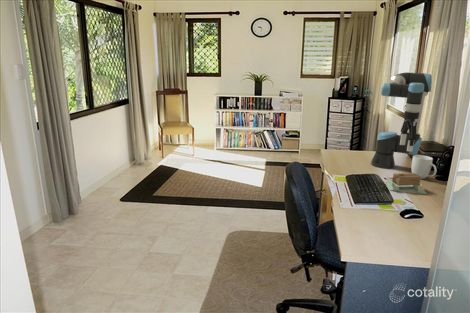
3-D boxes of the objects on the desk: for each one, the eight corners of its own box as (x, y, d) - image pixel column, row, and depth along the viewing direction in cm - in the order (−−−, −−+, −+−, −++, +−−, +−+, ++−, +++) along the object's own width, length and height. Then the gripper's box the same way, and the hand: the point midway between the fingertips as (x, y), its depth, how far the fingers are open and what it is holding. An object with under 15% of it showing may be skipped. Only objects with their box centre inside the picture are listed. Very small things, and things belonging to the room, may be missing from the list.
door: (392, 181, 201) (393, 172, 199) (412, 181, 203) (414, 171, 202) (398, 185, 195) (400, 175, 194) (419, 184, 197) (421, 175, 196)
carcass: (384, 183, 208) (385, 174, 206) (418, 186, 205) (420, 178, 203) (389, 190, 195) (391, 182, 194) (426, 194, 192) (428, 185, 191)
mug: (438, 180, 217) (443, 159, 213) (429, 183, 211) (433, 162, 207) (415, 173, 228) (419, 154, 225) (405, 176, 223) (409, 156, 219)
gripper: (398, 107, 209) (393, 141, 215) (412, 115, 185) (405, 153, 192) (412, 107, 208) (406, 142, 214) (427, 115, 184) (420, 154, 191)
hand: (405, 147), depth 203 cm, fingers open, 13 cm apart
